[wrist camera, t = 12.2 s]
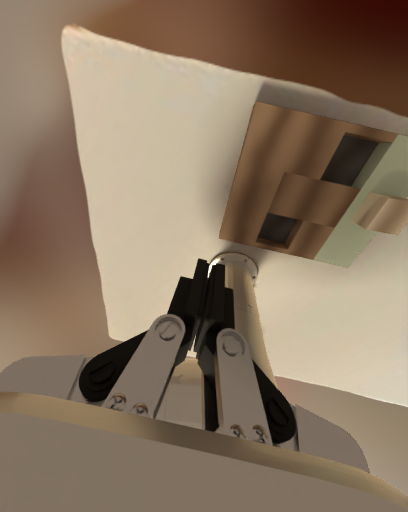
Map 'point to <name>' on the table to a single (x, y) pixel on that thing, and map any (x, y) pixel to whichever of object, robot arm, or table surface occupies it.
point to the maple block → (382, 213)
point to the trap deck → (295, 179)
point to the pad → (369, 180)
